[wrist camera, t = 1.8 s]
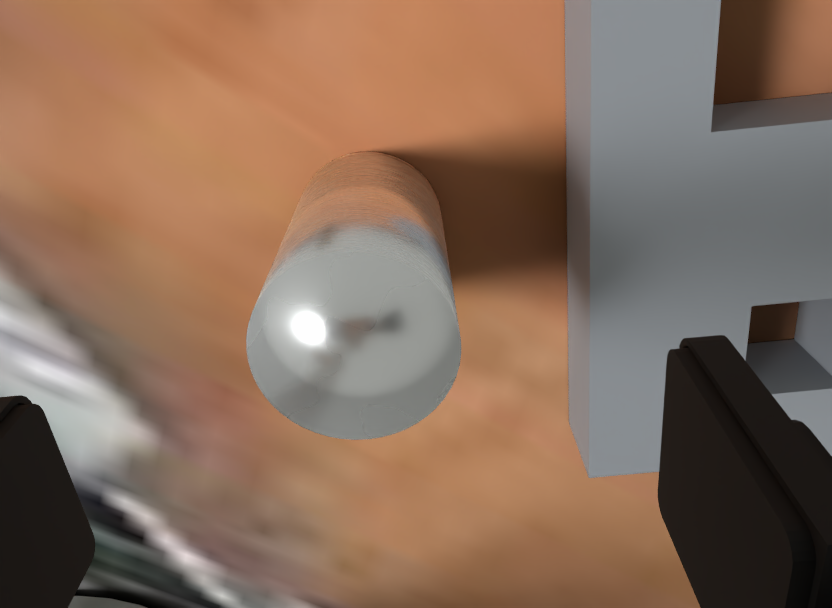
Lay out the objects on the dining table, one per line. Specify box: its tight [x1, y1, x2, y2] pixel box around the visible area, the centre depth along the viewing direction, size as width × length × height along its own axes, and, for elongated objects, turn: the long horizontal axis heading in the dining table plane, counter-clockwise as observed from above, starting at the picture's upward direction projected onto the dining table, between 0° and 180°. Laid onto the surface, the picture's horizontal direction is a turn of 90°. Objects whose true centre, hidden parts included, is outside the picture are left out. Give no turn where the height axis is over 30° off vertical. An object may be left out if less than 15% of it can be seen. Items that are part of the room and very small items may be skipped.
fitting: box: [246, 152, 461, 440], centre depth 19 cm, size 4×4×8 cm
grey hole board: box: [565, 0, 832, 478], centre depth 20 cm, size 18×12×3 cm, turn 6°
